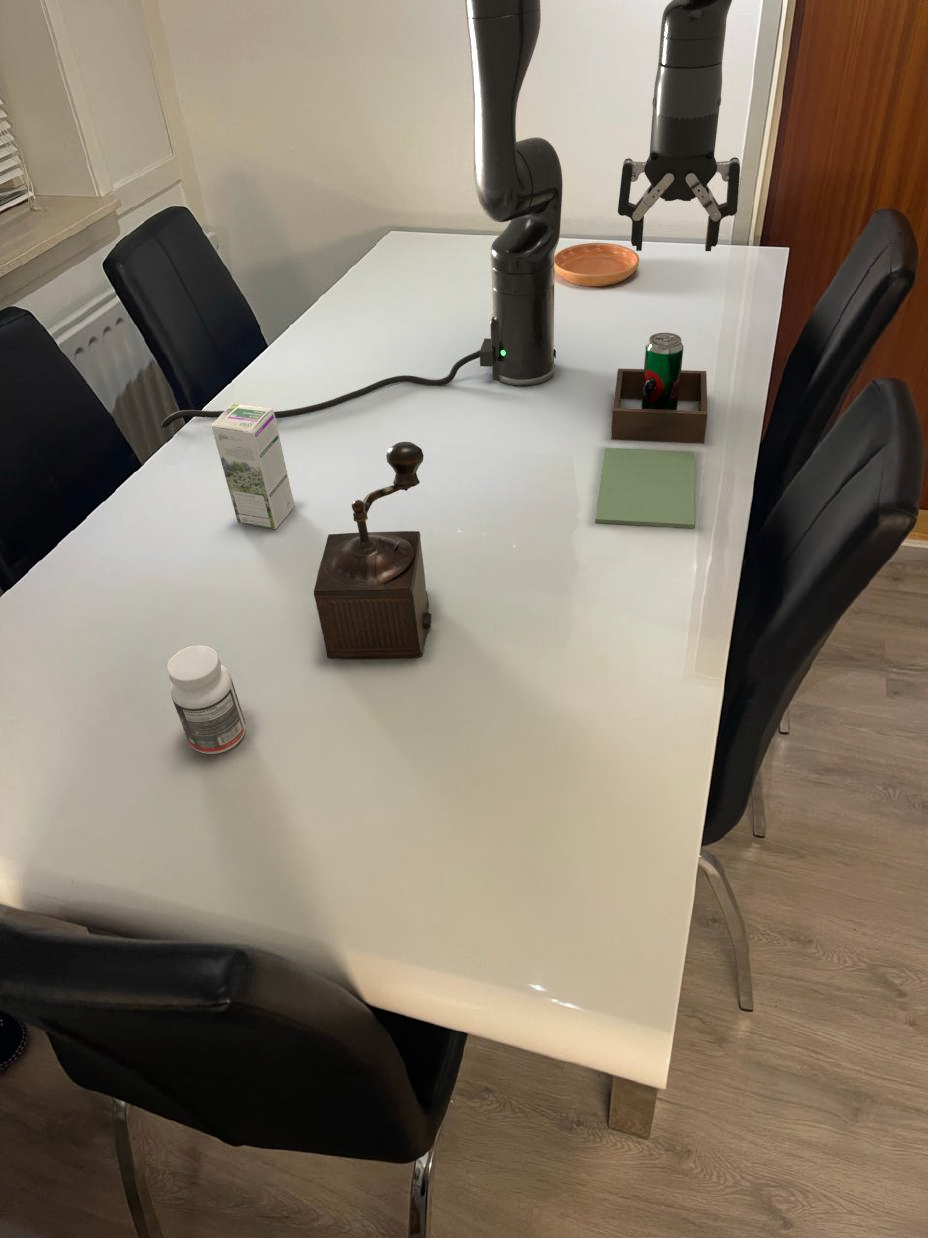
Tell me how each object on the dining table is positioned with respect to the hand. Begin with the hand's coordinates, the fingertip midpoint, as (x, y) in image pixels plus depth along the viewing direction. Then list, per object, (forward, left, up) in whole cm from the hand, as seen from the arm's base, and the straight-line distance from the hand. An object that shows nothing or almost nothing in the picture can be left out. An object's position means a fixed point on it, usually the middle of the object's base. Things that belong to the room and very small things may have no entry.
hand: (673, 248), depth 118 cm
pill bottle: (-41, -66, -24) cm, 81 cm away
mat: (-1, -18, -24) cm, 30 cm away
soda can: (0, 0, -24) cm, 24 cm away
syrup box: (-49, -29, -24) cm, 62 cm away
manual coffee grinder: (-29, -46, -24) cm, 60 cm away
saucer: (-13, +54, -24) cm, 61 cm away
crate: (0, 0, -24) cm, 24 cm away
